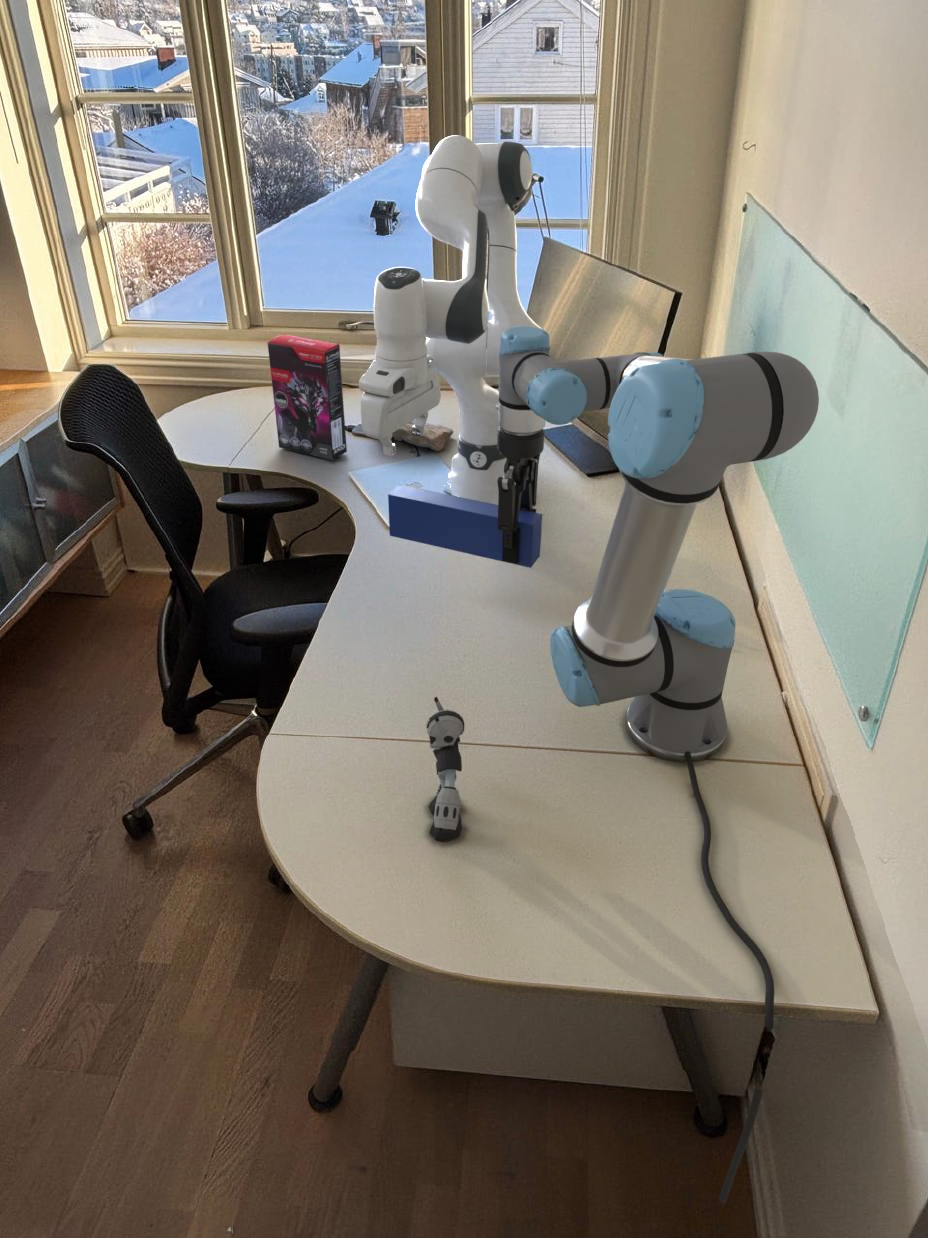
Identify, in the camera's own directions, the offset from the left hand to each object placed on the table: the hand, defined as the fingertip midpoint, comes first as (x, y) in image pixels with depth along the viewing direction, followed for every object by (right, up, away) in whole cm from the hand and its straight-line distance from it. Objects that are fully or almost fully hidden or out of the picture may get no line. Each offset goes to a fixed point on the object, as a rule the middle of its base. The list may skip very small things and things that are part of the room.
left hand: (404, 444), depth 166 cm
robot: (+8, -59, -39) cm, 71 cm away
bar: (+11, -18, -2) cm, 21 cm away
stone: (-3, +14, +70) cm, 72 cm away
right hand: (+20, -20, -6) cm, 29 cm away
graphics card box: (-27, +11, +64) cm, 71 cm away
